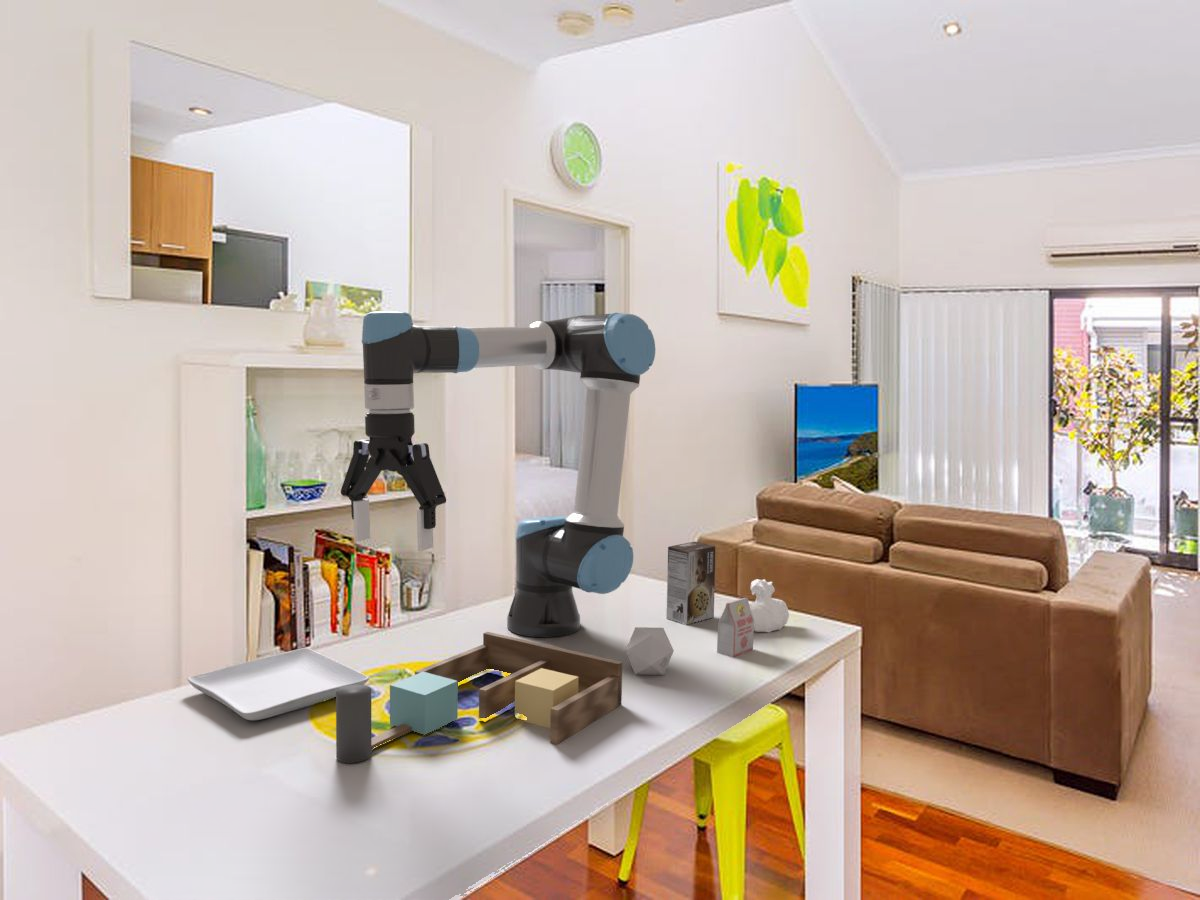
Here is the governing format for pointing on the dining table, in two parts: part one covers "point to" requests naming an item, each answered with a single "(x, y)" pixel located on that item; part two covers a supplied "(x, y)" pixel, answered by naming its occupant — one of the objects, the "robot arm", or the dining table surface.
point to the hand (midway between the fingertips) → (393, 544)
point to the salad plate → (277, 683)
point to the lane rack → (526, 657)
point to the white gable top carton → (735, 629)
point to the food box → (690, 582)
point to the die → (649, 651)
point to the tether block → (393, 713)
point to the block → (543, 694)
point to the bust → (767, 608)
